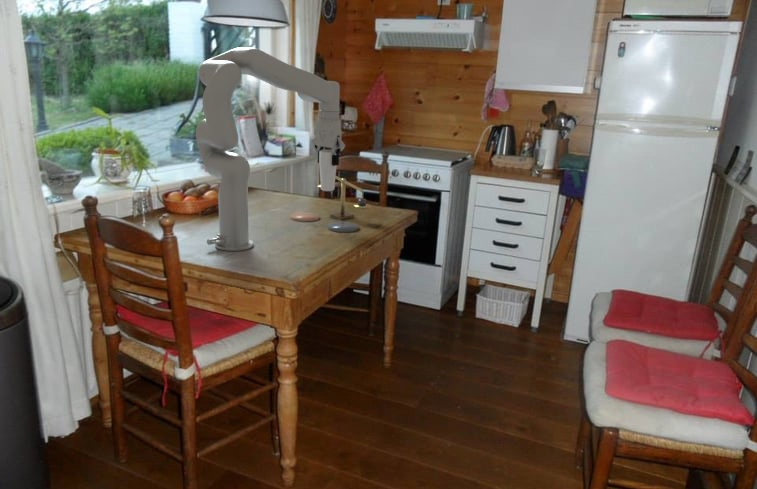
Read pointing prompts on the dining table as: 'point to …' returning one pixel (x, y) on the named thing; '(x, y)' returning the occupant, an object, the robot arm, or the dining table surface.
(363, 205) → the balance
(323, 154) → the drinking glass
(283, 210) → the dining table surface
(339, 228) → the dish slate
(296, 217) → the pink dome
